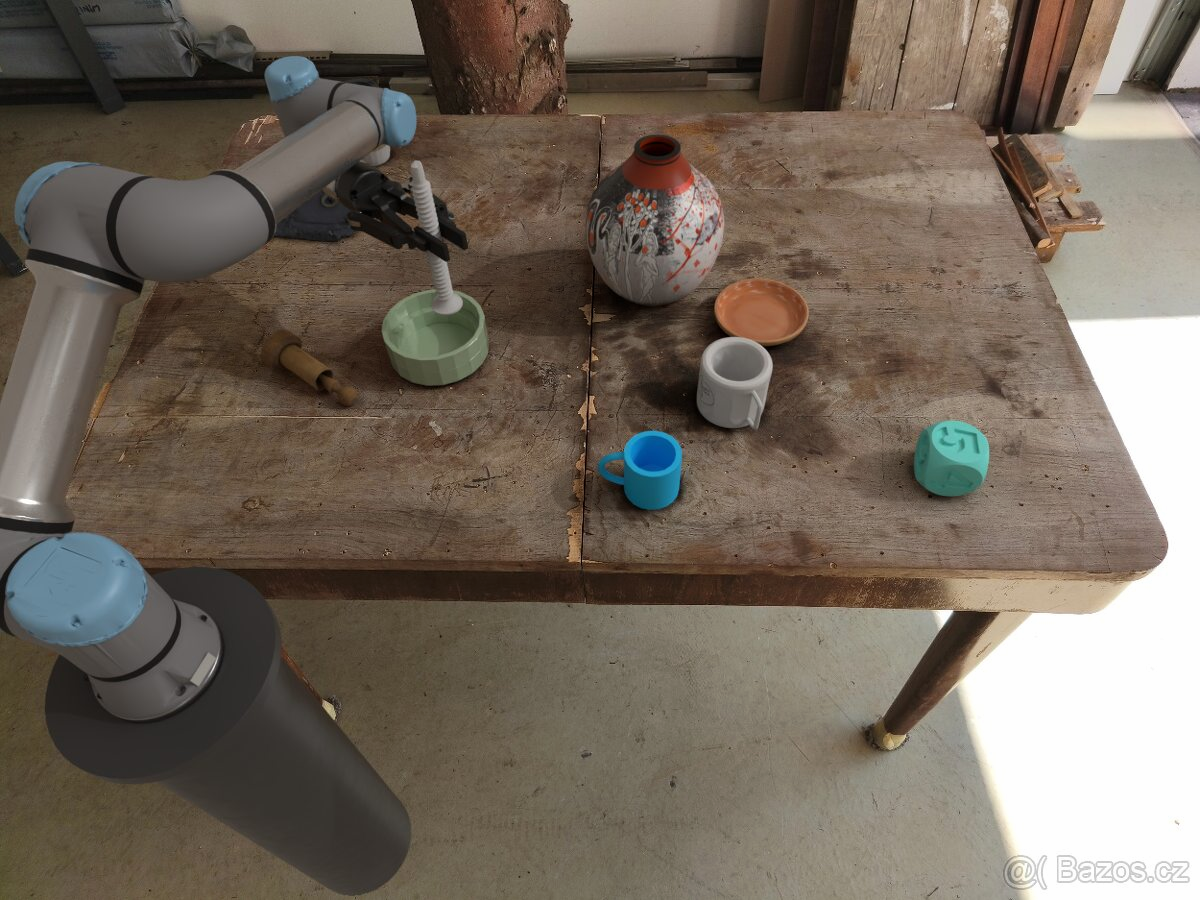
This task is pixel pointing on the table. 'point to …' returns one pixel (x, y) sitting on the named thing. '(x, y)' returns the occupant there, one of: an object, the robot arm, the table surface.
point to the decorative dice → (951, 458)
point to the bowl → (435, 339)
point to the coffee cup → (383, 150)
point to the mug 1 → (648, 469)
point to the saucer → (761, 311)
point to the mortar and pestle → (303, 365)
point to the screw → (428, 221)
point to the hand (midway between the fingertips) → (455, 247)
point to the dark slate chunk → (316, 220)
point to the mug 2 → (734, 382)
